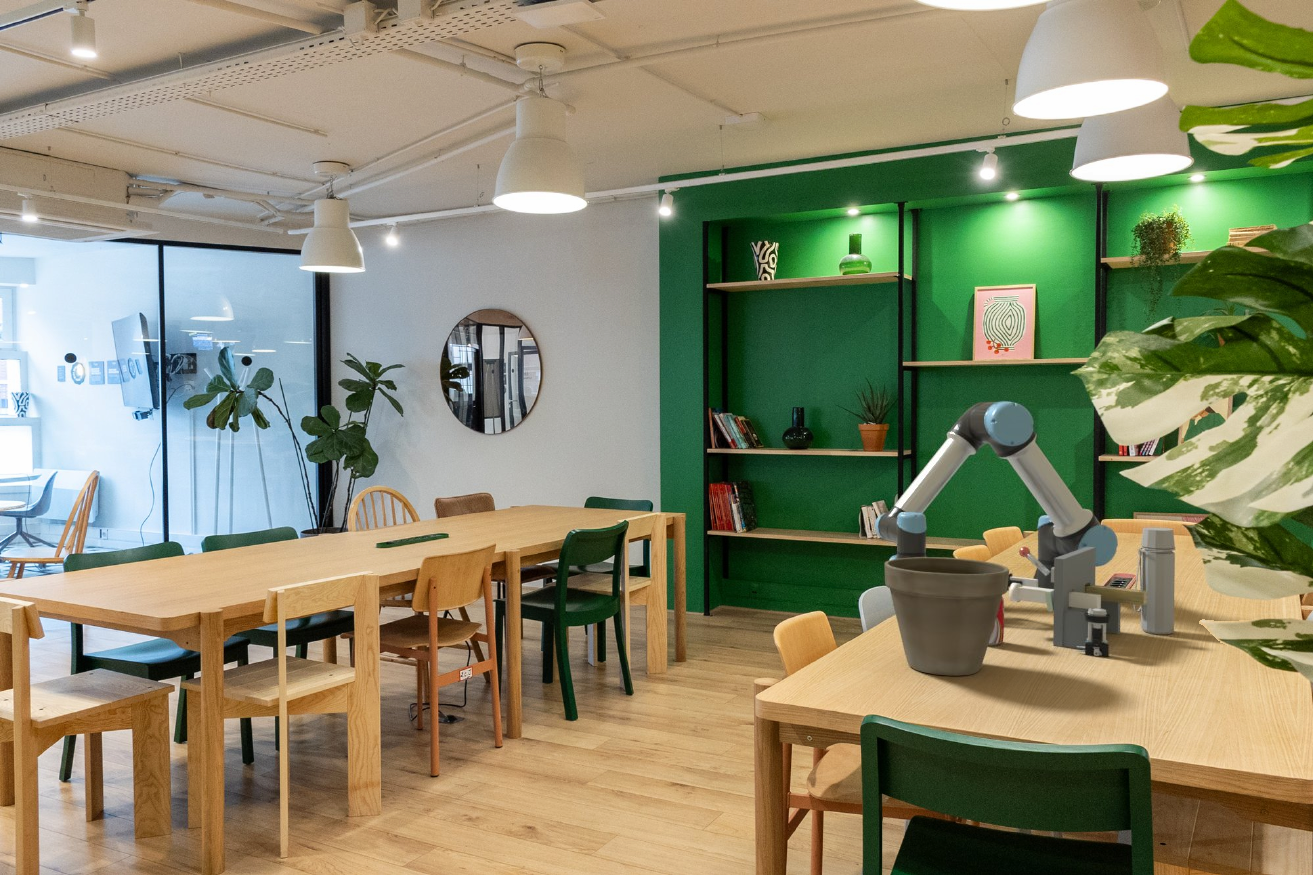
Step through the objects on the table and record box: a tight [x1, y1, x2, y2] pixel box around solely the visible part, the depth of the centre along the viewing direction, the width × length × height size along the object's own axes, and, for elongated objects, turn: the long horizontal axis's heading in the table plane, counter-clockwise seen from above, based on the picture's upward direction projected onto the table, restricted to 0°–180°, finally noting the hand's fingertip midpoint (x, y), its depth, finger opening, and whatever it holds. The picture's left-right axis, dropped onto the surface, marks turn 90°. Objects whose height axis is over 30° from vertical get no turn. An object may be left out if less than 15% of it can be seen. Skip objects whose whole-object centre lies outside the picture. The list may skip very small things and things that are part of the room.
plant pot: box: [884, 556, 1010, 677], centre depth 204 cm, size 25×25×22 cm
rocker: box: [1045, 590, 1054, 612], centre depth 225 cm, size 3×1×4 cm, turn 140°
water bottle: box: [1132, 526, 1176, 636], centre depth 236 cm, size 9×8×25 cm
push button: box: [1076, 608, 1111, 658], centre depth 215 cm, size 7×5×10 cm
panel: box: [1051, 547, 1122, 651], centre depth 230 cm, size 24×9×20 cm, turn 140°
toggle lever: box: [1018, 546, 1050, 576], centre depth 227 cm, size 2×7×6 cm, turn 50°
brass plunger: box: [1085, 584, 1147, 606], centre depth 233 cm, size 4×20×4 cm, turn 50°
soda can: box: [988, 596, 1005, 647], centre depth 225 cm, size 7×7×12 cm
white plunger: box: [1008, 583, 1101, 609], centre depth 228 cm, size 4×20×4 cm, turn 50°
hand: (1036, 585), depth 243 cm, fingers closed
